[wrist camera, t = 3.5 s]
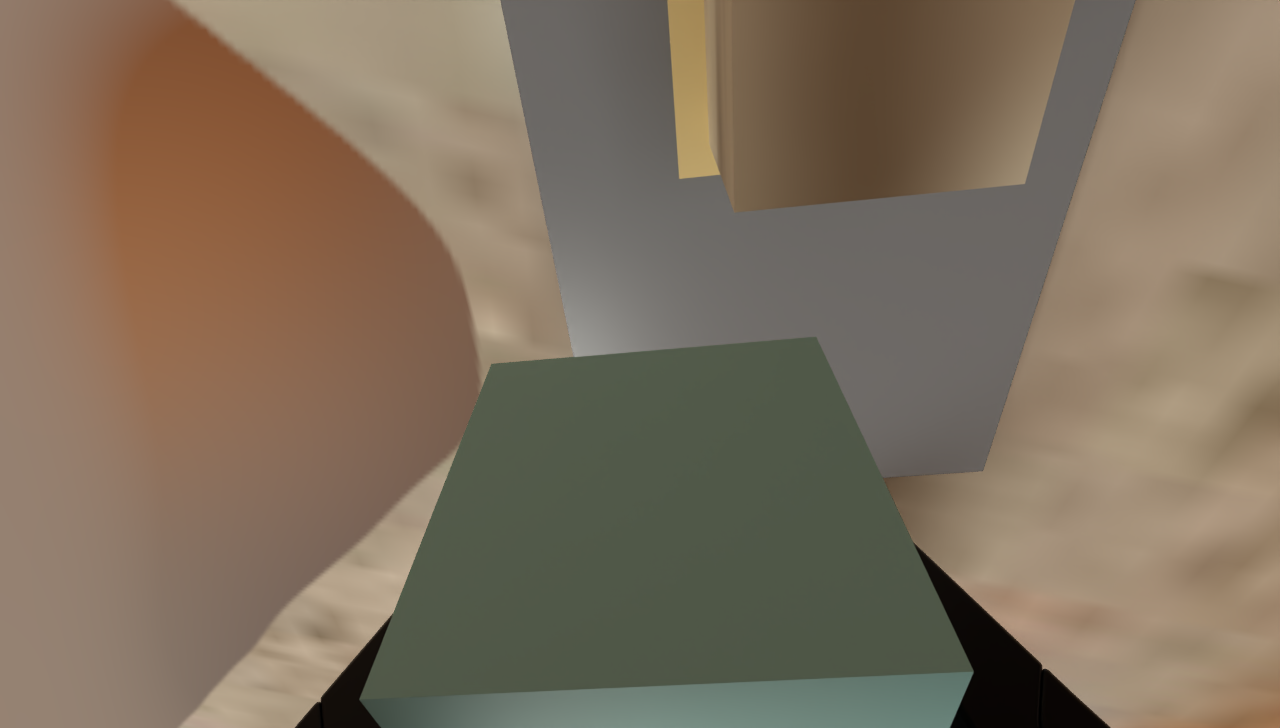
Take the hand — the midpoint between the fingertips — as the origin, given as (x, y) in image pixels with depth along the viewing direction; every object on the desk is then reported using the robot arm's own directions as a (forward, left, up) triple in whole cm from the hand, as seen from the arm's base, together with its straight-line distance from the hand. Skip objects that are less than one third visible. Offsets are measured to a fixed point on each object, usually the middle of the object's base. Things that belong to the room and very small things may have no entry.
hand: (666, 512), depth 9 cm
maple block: (-4, -6, -9) cm, 11 cm away
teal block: (0, 0, -1) cm, 1 cm away
